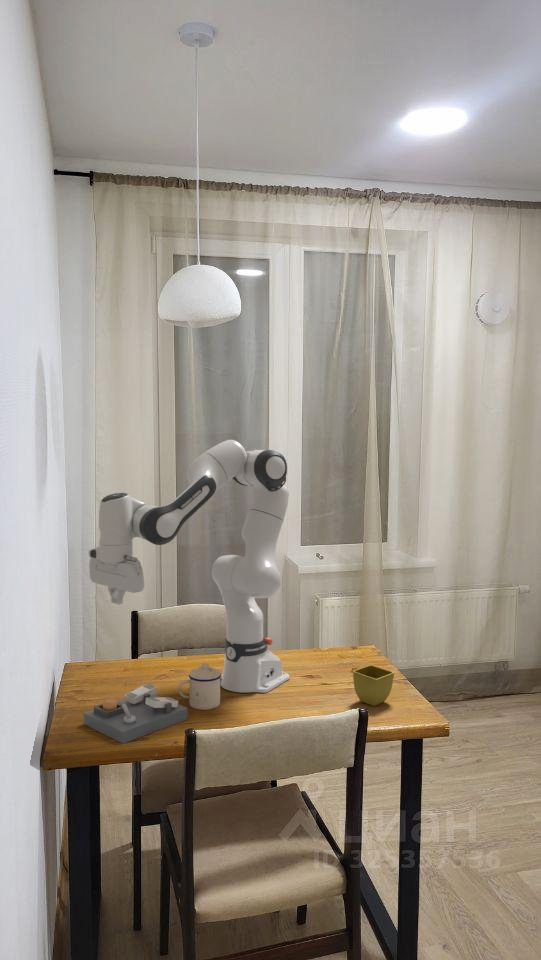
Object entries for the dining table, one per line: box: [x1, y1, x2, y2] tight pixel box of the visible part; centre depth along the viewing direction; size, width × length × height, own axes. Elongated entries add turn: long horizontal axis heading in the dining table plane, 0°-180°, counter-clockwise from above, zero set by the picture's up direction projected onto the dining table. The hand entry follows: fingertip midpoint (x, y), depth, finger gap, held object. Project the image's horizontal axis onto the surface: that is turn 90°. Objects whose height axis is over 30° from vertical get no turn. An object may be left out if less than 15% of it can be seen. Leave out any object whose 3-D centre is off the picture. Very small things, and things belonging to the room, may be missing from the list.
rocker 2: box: [145, 696, 179, 708], centre depth 194 cm, size 8×4×2 cm, turn 138°
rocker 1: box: [123, 683, 158, 704], centre depth 200 cm, size 8×4×2 cm, turn 138°
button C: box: [102, 698, 118, 711], centre depth 192 cm, size 4×4×2 cm
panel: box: [83, 688, 188, 744], centre depth 193 cm, size 21×18×8 cm
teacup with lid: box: [178, 662, 222, 711], centre depth 205 cm, size 12×9×12 cm
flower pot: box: [352, 664, 395, 707], centre depth 209 cm, size 9×9×9 cm
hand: (116, 603), depth 199 cm, fingers closed
